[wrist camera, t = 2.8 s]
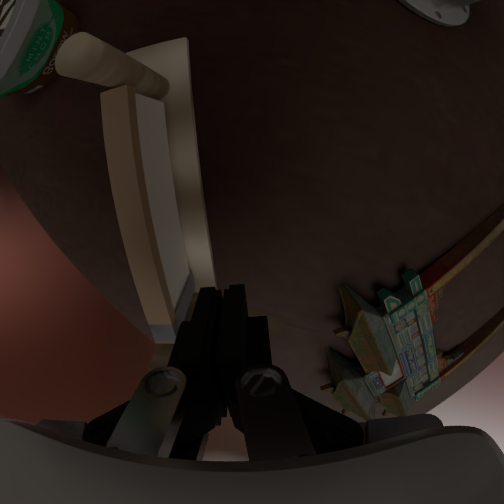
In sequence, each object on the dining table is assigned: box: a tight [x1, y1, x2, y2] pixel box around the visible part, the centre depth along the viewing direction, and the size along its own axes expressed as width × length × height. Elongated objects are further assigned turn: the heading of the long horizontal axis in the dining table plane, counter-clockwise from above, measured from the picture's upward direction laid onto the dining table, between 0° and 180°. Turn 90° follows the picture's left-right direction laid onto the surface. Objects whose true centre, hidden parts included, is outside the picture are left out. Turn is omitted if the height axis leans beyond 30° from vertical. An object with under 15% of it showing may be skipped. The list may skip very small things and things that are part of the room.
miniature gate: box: [320, 205, 504, 422], centre depth 25 cm, size 27×6×30 cm
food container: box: [0, 0, 80, 97], centre depth 10 cm, size 12×6×10 cm, turn 162°
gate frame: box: [55, 32, 218, 373], centre depth 15 cm, size 24×5×12 cm, turn 5°
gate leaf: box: [100, 84, 195, 344], centre depth 16 cm, size 15×2×7 cm, turn 5°
